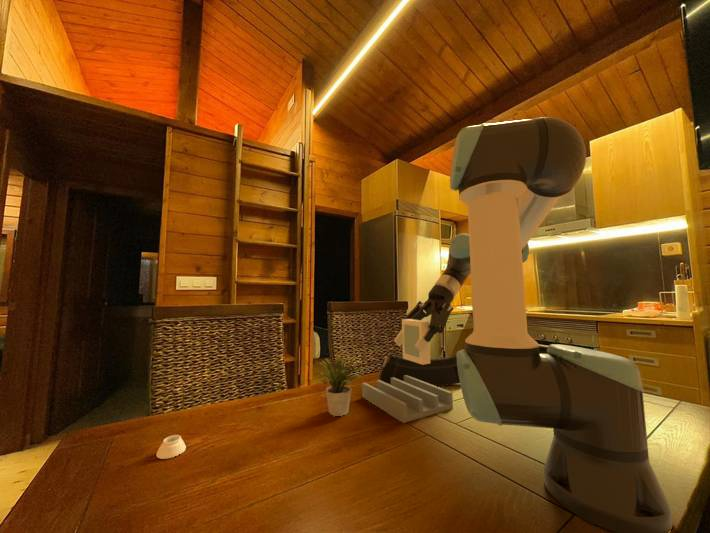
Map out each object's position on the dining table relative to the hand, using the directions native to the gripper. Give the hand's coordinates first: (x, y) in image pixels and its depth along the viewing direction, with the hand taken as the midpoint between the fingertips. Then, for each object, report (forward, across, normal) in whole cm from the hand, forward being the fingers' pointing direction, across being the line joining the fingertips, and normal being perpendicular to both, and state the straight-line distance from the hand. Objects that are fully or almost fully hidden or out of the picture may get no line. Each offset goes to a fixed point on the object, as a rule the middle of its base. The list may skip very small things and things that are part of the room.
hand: (407, 346), depth 84 cm
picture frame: (+1, 0, -6) cm, 6 cm away
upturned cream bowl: (+53, +4, +30) cm, 61 cm away
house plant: (+27, +4, +3) cm, 27 cm away
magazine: (+1, +12, -24) cm, 27 cm away
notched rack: (+12, +2, -12) cm, 17 cm away
